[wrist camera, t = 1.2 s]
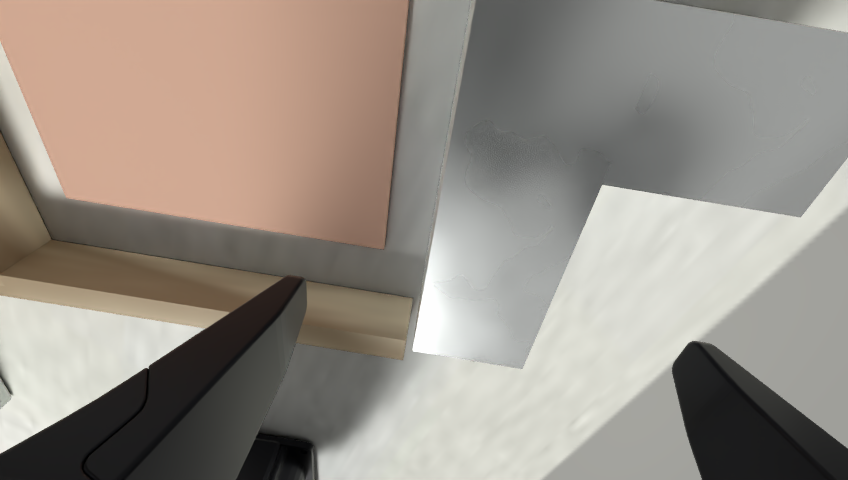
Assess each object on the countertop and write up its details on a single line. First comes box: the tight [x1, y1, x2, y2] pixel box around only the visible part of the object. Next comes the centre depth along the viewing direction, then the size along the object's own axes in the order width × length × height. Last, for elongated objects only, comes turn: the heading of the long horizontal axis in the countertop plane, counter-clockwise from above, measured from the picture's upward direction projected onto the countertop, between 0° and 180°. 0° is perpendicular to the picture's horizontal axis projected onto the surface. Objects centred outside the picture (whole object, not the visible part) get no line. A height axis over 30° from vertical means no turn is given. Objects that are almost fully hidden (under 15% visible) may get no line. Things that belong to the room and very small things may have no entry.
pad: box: [0, 0, 409, 250], centre depth 13 cm, size 11×13×1 cm
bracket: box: [412, 0, 848, 369], centre depth 12 cm, size 10×8×5 cm
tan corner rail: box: [0, 132, 413, 360], centre depth 14 cm, size 15×18×2 cm
